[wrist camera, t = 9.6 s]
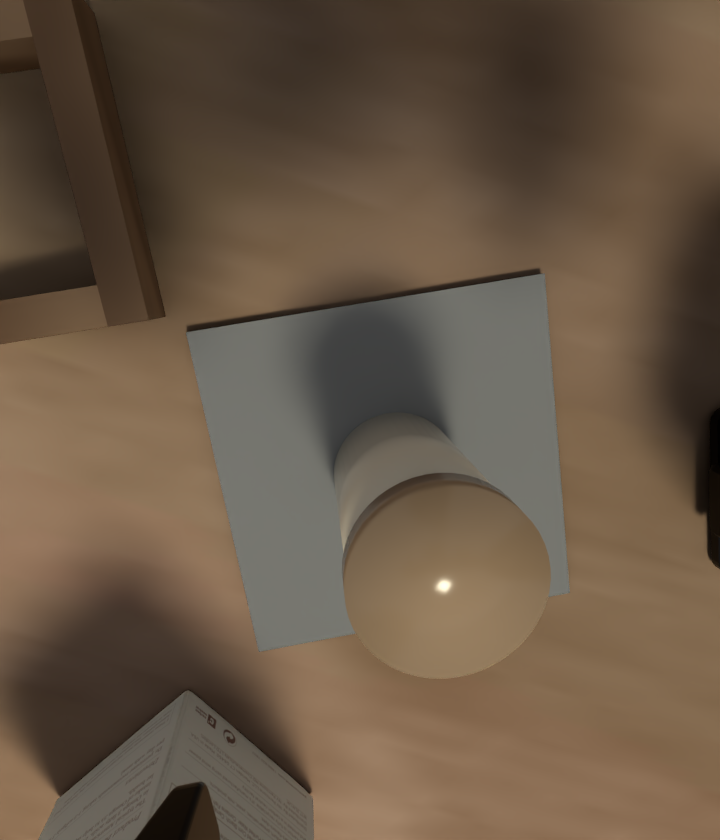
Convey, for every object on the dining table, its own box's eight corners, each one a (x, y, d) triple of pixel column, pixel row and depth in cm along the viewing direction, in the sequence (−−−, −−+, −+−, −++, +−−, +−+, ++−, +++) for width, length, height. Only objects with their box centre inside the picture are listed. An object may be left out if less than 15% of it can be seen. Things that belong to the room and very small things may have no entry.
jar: (451, 398, 20) (541, 470, 12) (466, 520, 21) (558, 657, 13) (320, 422, 20) (327, 508, 12) (342, 544, 21) (362, 696, 13)
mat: (541, 273, 20) (544, 273, 19) (566, 588, 22) (569, 592, 22) (187, 331, 19) (185, 332, 19) (259, 646, 22) (258, 651, 22)
